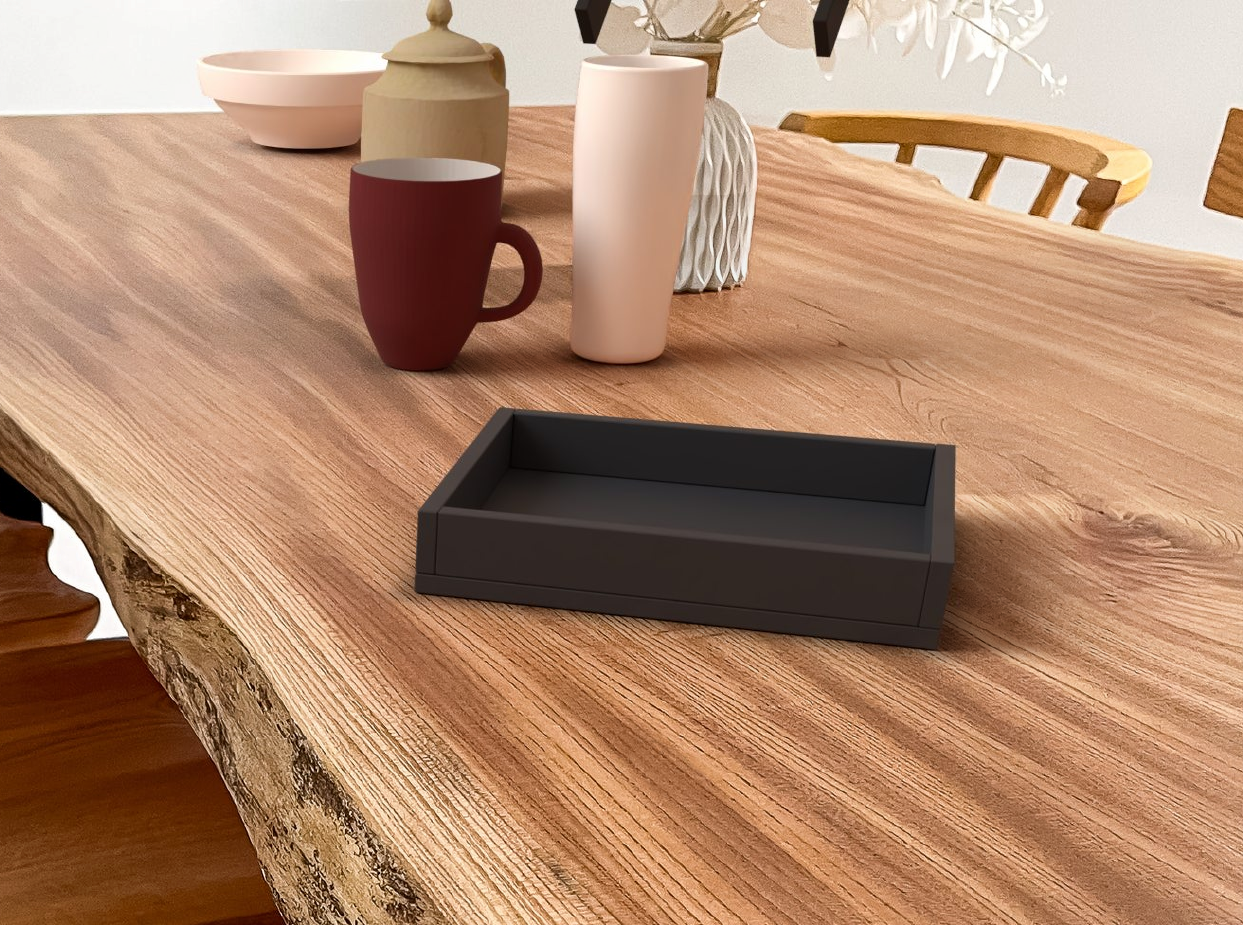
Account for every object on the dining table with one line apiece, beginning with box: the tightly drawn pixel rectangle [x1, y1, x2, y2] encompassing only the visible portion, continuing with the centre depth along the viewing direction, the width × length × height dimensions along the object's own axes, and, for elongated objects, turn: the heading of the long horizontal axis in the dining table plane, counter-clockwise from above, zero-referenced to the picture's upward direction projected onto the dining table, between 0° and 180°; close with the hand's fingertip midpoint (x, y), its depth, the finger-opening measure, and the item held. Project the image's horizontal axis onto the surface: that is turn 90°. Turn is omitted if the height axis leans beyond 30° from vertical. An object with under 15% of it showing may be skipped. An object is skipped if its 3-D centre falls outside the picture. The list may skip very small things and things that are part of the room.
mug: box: [348, 158, 544, 371], centre depth 102 cm, size 10×8×10 cm
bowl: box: [196, 48, 388, 149], centre depth 172 cm, size 20×20×7 cm
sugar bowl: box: [360, 0, 510, 209], centre depth 144 cm, size 15×11×15 cm
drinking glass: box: [569, 54, 709, 365], centre depth 103 cm, size 7×7×15 cm
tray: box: [413, 406, 957, 650], centre depth 77 cm, size 20×16×3 cm
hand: (699, 33), depth 106 cm, fingers open, 13 cm apart
